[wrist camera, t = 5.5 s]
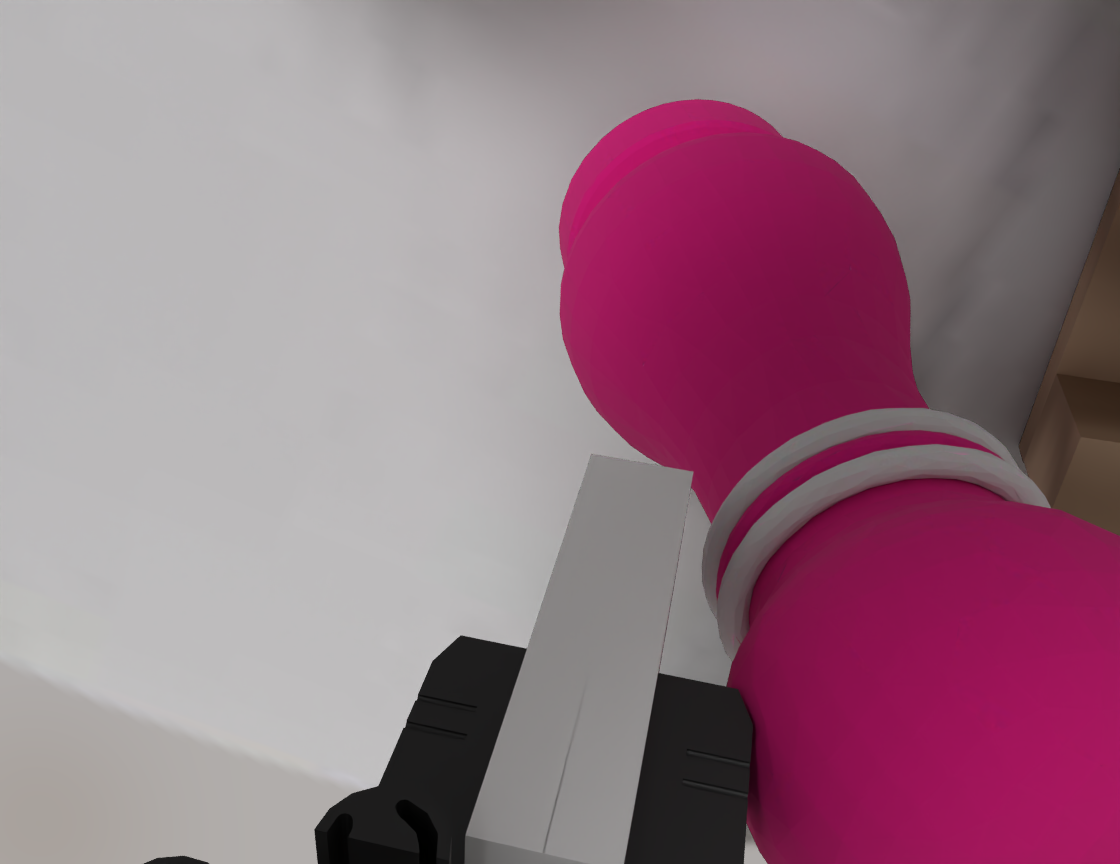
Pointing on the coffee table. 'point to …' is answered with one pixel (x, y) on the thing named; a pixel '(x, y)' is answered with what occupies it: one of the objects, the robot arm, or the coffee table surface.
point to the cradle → (1083, 392)
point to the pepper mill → (844, 509)
